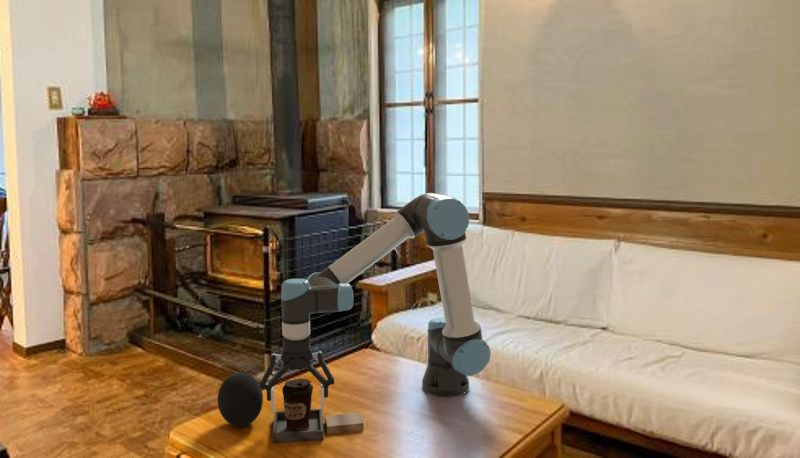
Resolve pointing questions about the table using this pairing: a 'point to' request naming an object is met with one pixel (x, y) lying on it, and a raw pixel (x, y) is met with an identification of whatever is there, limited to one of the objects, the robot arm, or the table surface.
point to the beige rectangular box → (344, 423)
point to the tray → (309, 434)
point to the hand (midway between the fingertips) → (298, 410)
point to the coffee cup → (297, 403)
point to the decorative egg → (240, 399)
